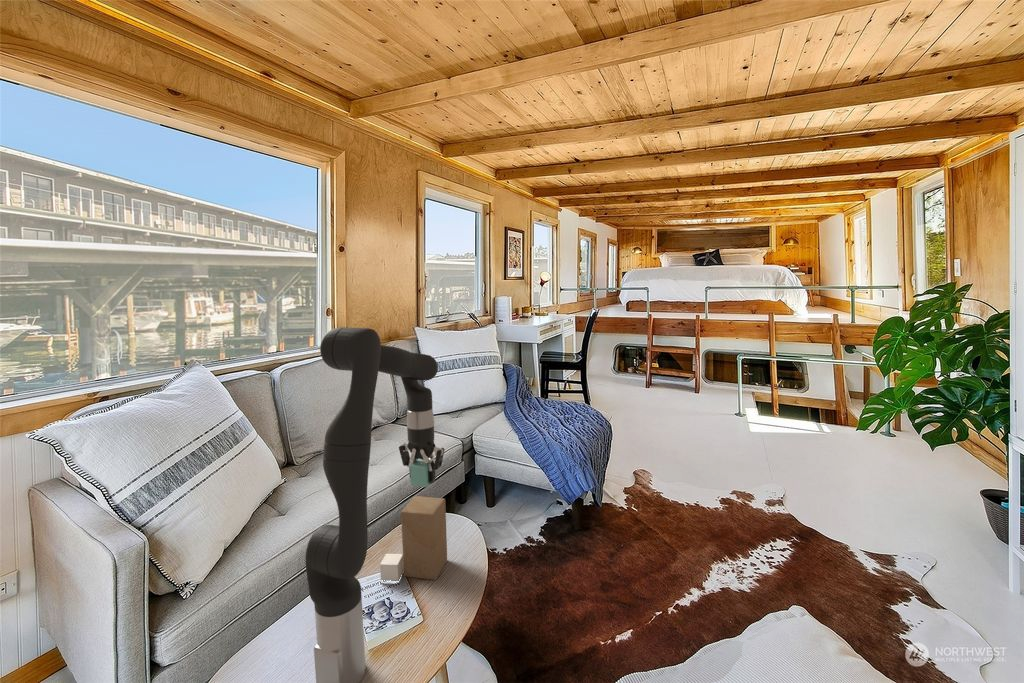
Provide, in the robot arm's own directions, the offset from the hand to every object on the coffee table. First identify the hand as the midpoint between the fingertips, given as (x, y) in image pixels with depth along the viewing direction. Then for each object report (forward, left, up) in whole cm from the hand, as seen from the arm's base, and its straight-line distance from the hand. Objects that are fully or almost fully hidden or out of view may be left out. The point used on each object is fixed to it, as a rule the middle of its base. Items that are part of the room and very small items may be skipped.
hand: (422, 480), depth 128 cm
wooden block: (0, 0, -28) cm, 28 cm away
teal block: (0, 0, -1) cm, 1 cm away
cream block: (-7, +7, -27) cm, 29 cm away
